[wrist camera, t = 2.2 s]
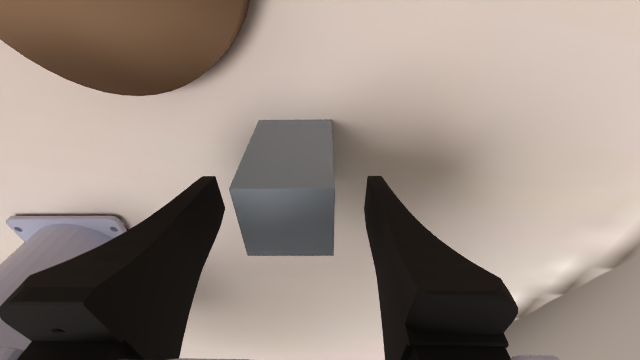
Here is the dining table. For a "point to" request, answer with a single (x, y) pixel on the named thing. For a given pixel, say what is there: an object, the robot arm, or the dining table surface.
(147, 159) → the dining table surface
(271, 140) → the block
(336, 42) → the dining table surface
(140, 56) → the disc
